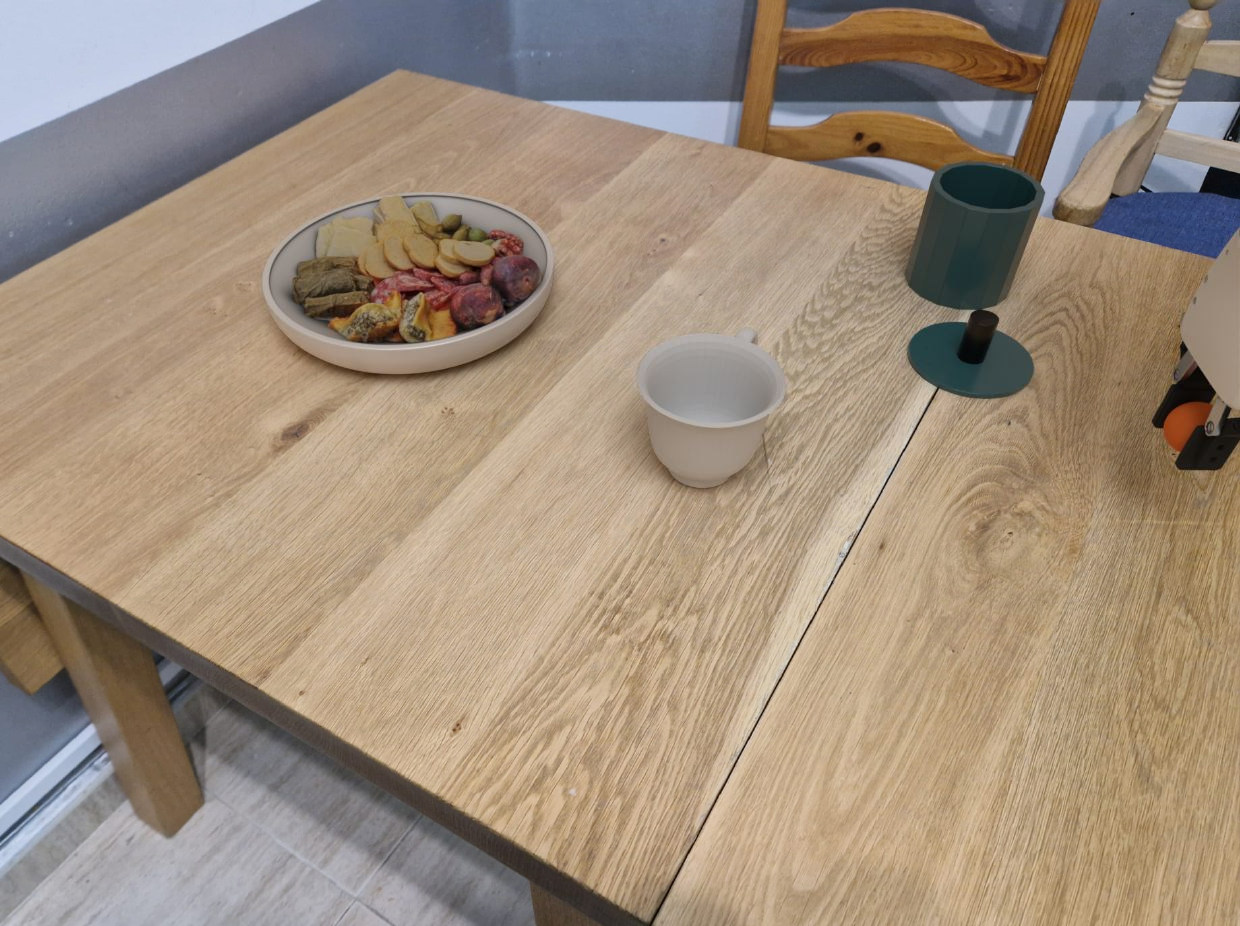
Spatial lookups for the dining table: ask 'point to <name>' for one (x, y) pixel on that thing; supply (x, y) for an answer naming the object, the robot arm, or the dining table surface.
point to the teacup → (708, 403)
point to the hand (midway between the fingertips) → (1185, 444)
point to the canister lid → (971, 357)
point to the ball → (1185, 422)
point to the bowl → (409, 281)
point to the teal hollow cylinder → (973, 234)
